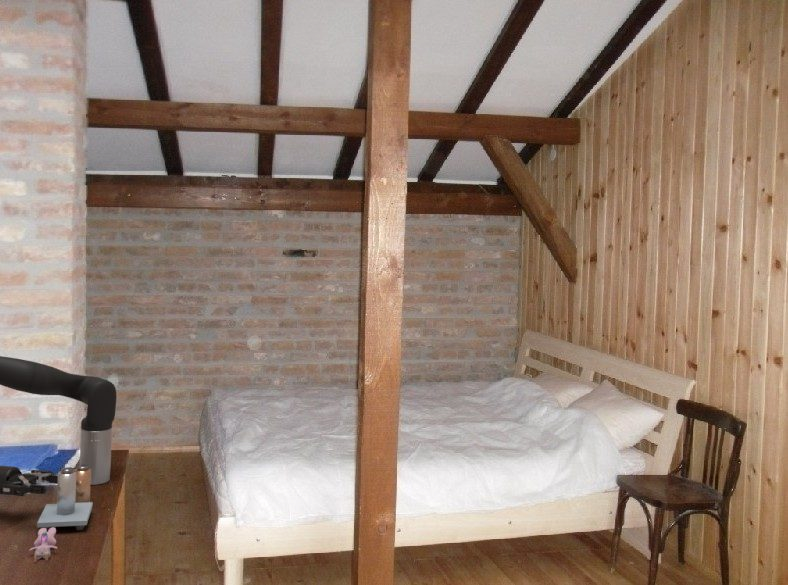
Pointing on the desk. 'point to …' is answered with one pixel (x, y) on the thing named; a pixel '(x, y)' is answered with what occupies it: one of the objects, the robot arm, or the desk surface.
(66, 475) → the steel canister
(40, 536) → the rabbit figure
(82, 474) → the copper canister
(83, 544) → the desk surface
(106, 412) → the robot arm
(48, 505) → the grey square platform
